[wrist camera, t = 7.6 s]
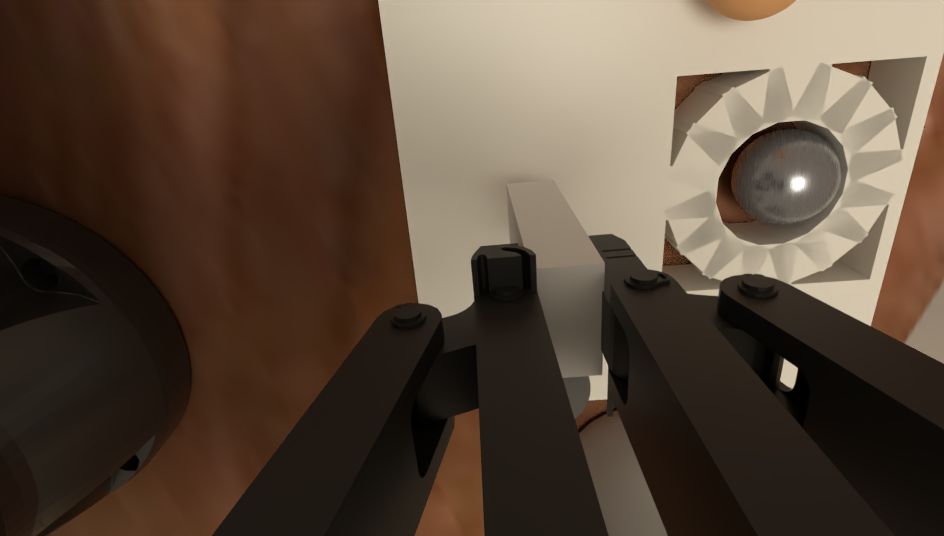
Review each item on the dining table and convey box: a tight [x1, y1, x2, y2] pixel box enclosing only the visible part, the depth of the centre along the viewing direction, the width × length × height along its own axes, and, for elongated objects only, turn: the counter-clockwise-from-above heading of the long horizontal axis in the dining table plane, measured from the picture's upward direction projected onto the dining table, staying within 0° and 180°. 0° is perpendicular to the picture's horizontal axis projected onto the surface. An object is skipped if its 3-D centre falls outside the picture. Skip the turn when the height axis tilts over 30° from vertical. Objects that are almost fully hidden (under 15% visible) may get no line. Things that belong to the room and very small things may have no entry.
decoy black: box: [563, 376, 591, 419], centre depth 20 cm, size 3×3×3 cm
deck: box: [378, 0, 944, 400], centre depth 20 cm, size 18×18×2 cm
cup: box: [579, 410, 668, 536], centre depth 23 cm, size 7×10×9 cm
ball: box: [731, 129, 842, 225], centre depth 19 cm, size 4×4×4 cm
